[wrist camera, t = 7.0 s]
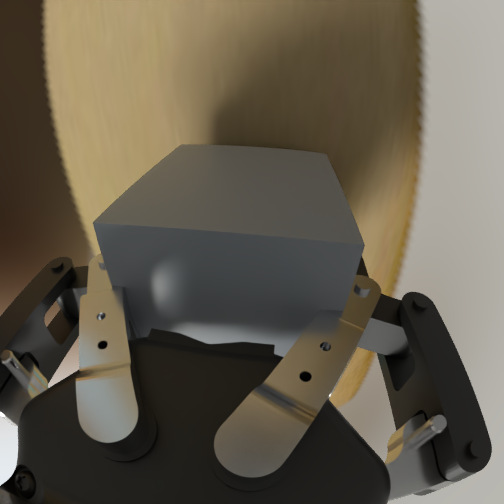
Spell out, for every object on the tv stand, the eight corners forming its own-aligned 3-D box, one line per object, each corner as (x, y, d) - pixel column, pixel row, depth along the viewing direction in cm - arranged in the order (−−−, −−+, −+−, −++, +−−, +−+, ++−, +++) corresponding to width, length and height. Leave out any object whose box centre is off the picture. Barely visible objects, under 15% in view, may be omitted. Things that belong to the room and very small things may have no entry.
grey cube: (181, 144, 13) (92, 222, 7) (325, 153, 12) (364, 245, 6) (190, 259, 16) (144, 368, 10) (307, 270, 16) (312, 390, 10)
